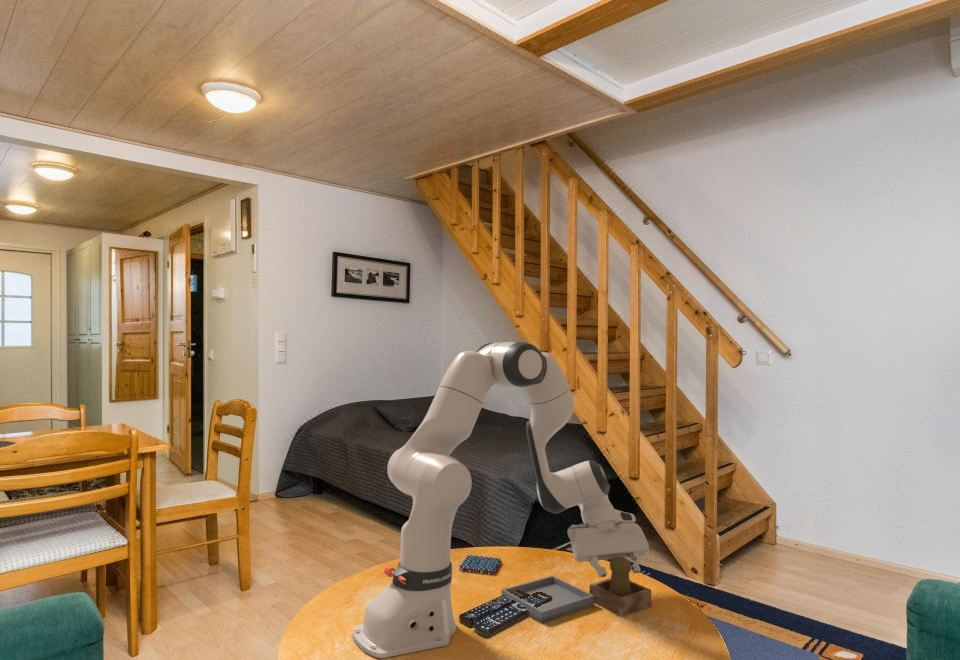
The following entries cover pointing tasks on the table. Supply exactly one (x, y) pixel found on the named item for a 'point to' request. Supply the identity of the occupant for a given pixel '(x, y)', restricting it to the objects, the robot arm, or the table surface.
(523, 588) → the tray
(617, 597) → the holder
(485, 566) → the woven mat
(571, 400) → the robot arm
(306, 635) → the table surface
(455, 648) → the table surface
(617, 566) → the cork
